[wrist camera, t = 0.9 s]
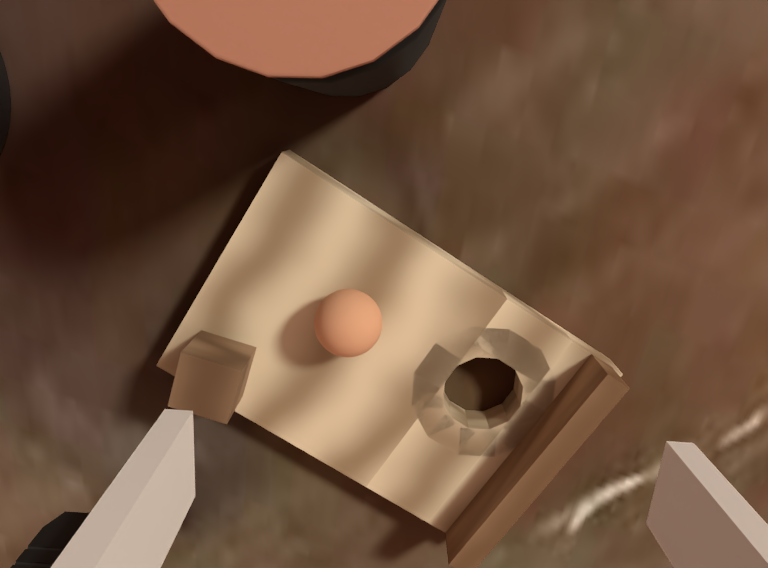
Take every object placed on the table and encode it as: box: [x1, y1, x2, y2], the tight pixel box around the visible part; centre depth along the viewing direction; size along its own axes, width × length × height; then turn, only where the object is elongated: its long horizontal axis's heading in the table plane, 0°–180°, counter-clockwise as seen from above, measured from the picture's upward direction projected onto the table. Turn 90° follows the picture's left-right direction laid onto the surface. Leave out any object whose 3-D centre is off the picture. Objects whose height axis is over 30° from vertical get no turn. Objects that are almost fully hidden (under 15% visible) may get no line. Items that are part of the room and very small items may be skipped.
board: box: [156, 150, 630, 568], centre depth 37 cm, size 25×16×6 cm, turn 57°
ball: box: [314, 289, 382, 357], centre depth 34 cm, size 4×4×4 cm
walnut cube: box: [168, 330, 257, 424], centre depth 36 cm, size 4×4×4 cm
